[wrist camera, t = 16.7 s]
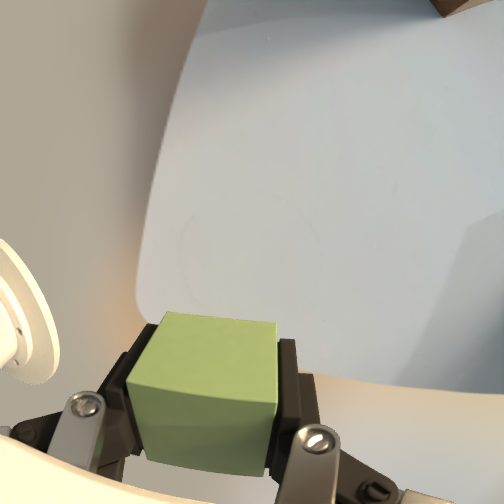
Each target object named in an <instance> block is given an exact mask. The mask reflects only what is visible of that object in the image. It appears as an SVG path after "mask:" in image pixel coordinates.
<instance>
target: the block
mask: <svg viewBox="0 0 504 504" xmlns="http://www.w3.org/2000/svg"><path fill="white" fill-rule="evenodd" d="M126 384H127V389H128V393H129V397H130V399H131V403H132V407H133V411H134V415H135V419H136V422H137V426H138V430H139V433H140V437H141V440H142V443H143V447H144V451H145V454H146V457H147V459H148V460H150V461H155V462H159V463H163V464H169V465H173V466H178V467H184V468H189V469H195V470H201V471H207V472H215V473H223V474H231V475H242V476H253V477H254V476H255V477H263V475H264V470H265V468H264V465H265V460H266V455H267V450H268V445H269V440H270V435H271V430H272V424H273V420H274V419H275V415H276V410H277V404H278V364H277V324H276V323H272V322H260V321H248V320H238V319H228V318H218V317H209V316H200V315H192V314H184V313H176V312H166V314H165V316H164V317H163V319H162V321H161V322H160V324H159V325H158V327H157V329H156V330H155V332H154V334H153V335H152V337H151V339H150V340H149V342H148V344H147V345H146V347H145V349H144V350H143V352H142V354H141V355H140V357H139V359H138V360H137V362H136V364H135V365H134V367H133V369H132V371H131V372H130V374H129V376H128V377H127V379H126Z"/></svg>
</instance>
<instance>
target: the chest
mask: <svg viewBox="0 0 504 504" xmlns="http://www.w3.org/2000/svg"><path fill="white" fill-rule="evenodd" d="M430 1H431V3H432V4H433V5H434V6H435V8H436V9H437V10H438V11H439V13H440V14H441V15H442V17H443V18H446V17H448V16H451V15H453V14H456V13H458V12H461V11H464V10H466V9H469V8H472V7H474V6H477V5H480V4H483V3H486V2H489V1H492V0H430Z"/></svg>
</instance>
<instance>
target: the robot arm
mask: <svg viewBox="0 0 504 504" xmlns="http://www.w3.org/2000/svg"><path fill="white" fill-rule="evenodd" d="M157 327H158V325H155V324H149V323H148V324H147V325H146V326H145V327H144V329H143V330H142V332H141V333H140V335H139V336H138V338H137V339H136V341H135V342H134V344H133V345H132V347H131V348H130V350H129V351H128V352H123V353H122V354H121V356H120V357H119V359H118V360H117V362H116V363H115V365H114V366H113V368H112V369H111V371H110V372H109V374H108V375H107V377H106V378H105V380H104V381H103V383H102V384H101V386H100V388H99V389H98V391H97V392H92V391H82V392H78V393H76V394H74V395H72V396H71V397H70V398H69V399H68V401H67V403H66V405H65V408H64V410H63V411H61V412H57V413H54V414H50V415H46V416H42V417H38V418H34V419H30V420H26V421H23V422H20V423H18V424H17V425H15V426H14V427H13V429H11V428H10V427H9V426H4V427H0V504H217V503H210V502H203V501H197V500H191V499H186V498H180V497H175V496H170V495H166V494H162V493H157V492H153V491H149V490H145V489H142V488H138V487H134V486H131V485H127V484H124V483H122V477H123V470H124V464H125V457H128V456H130V454H133V455H137V456H140V453H141V451H142V449H143V450H144V447H143V443H142V440H141V437H140V433H139V430H138V426H137V422H136V419H135V415H134V411H133V407H132V403H131V399H130V397H129V393H128V389H127V384H126V379H127V377H128V376H129V374H130V372H131V371H132V369H133V367H134V365H135V364H136V362H137V360H138V359H139V357H140V355H141V354H142V352H143V350H144V349H145V347H146V345H147V344H148V342H149V340H150V339H151V337H152V335H153V334H154V332H155V330H156V329H157ZM32 353H33V343H32V336H31V332H30V328H29V325H28V322H27V320H26V317H25V314H24V312H23V310H22V308H21V306H20V304H19V302H18V300H17V298H16V297H15V295H14V293H13V292H12V290H11V289H10V287H9V286H8V284H7V283H6V282H5V280H4V279H3V278H2V277H1V275H0V369H1V368H2V367H3V366H4V365H6V366H8V367H11V368H17V369H18V368H22V367H23V366H25V365H26V364H27V363H28V362H29V360H30V359H31V356H32ZM277 364H278V404H277V410H276V415H275V419H274V420H273V424H272V430H271V435H270V440H269V445H268V450H267V455H266V460H265V465H264V468H269V476H272V479H273V480H274V481H276V482H277V483H278V484H279V488H278V492H277V496H276V499H275V503H274V504H456V503H454V502H452V501H448V500H444V499H440V498H436V497H433V496H429V495H425V494H422V493H419V492H415V491H412V490H409V489H406V490H405V491H402V490H399V489H398V488H397V486H396V484H395V483H394V482H393V481H392V480H390V479H389V478H387V477H386V476H384V475H382V474H381V473H379V472H377V471H375V470H374V469H372V468H370V467H368V466H367V465H365V464H363V463H362V462H360V461H359V460H357V459H355V458H354V457H352V456H350V455H349V454H347V453H346V452H344V451H342V450H341V449H340V438H339V436H338V434H337V433H336V432H335V431H334V430H333V429H332V428H330V427H328V426H325V425H321V424H320V417H319V410H318V403H317V396H316V390H315V383H314V377H313V374H306V373H298V367H297V357H296V347H295V340H294V339H281V338H280V341H279V342H277Z"/></svg>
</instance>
